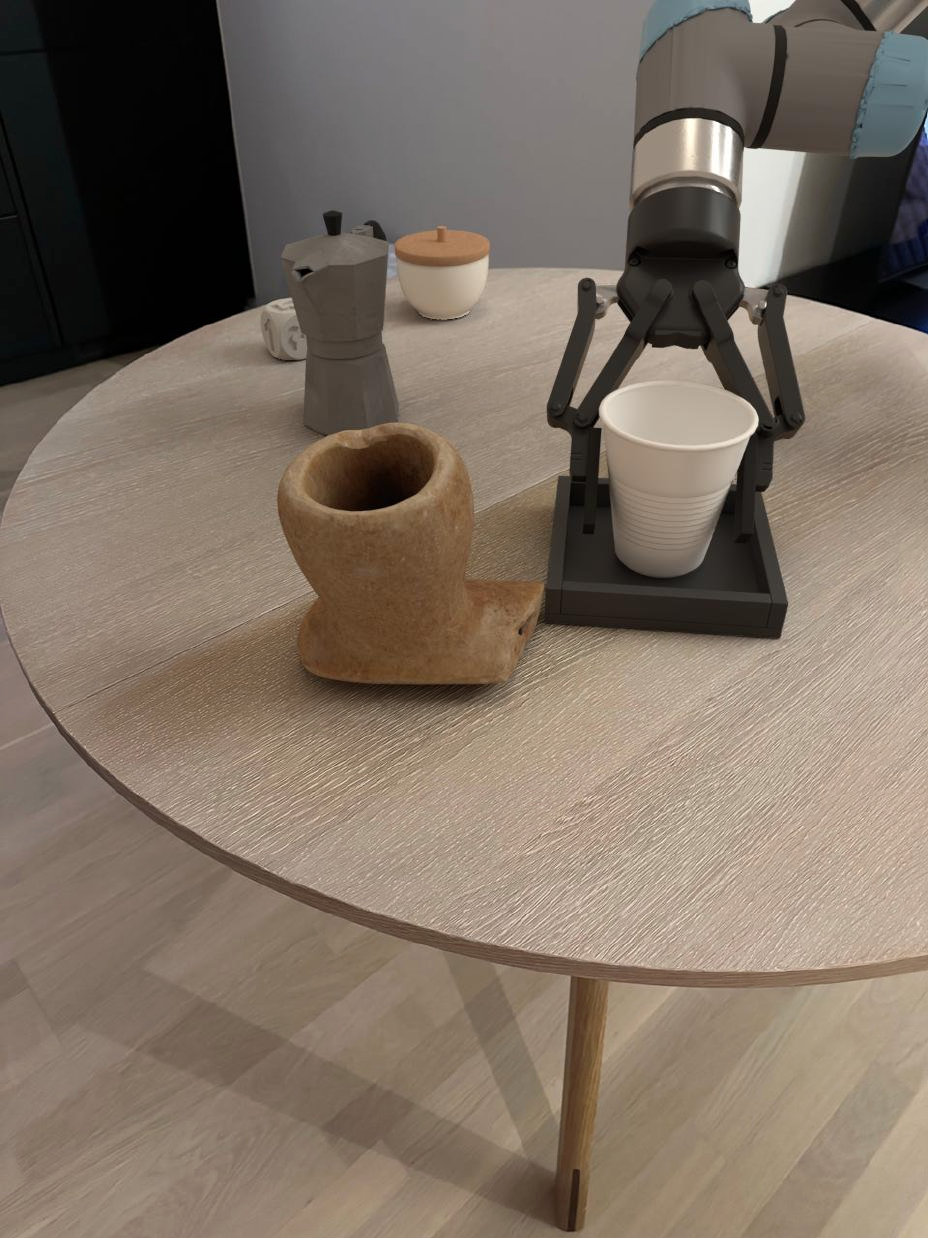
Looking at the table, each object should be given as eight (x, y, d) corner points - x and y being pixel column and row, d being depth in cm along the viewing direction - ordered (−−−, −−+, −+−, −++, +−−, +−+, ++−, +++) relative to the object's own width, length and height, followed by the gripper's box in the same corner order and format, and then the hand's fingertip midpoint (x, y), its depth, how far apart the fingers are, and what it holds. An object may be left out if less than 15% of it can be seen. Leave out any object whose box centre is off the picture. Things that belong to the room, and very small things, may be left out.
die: (264, 350, 100) (257, 303, 97) (306, 340, 102) (300, 294, 99) (283, 364, 96) (276, 317, 93) (326, 354, 99) (321, 307, 96)
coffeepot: (367, 455, 80) (347, 237, 69) (271, 439, 83) (238, 227, 72) (434, 386, 91) (427, 189, 80) (349, 374, 94) (330, 182, 83)
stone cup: (275, 715, 54) (231, 489, 45) (322, 596, 63) (294, 389, 54) (535, 733, 53) (544, 503, 43) (544, 608, 62) (553, 397, 53)
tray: (753, 517, 71) (760, 485, 69) (780, 639, 59) (788, 603, 57) (556, 506, 73) (558, 475, 71) (544, 623, 61) (545, 588, 59)
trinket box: (379, 316, 108) (373, 231, 102) (434, 290, 115) (431, 210, 109) (455, 334, 103) (453, 245, 97) (507, 306, 110) (508, 222, 104)
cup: (570, 580, 63) (580, 432, 56) (607, 509, 70) (620, 370, 64) (717, 610, 60) (746, 458, 53) (740, 533, 67) (768, 390, 61)
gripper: (834, 246, 66) (823, 556, 63) (525, 239, 68) (501, 537, 65) (868, 182, 58) (858, 530, 55) (521, 177, 61) (493, 509, 58)
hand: (665, 533), depth 60 cm, fingers closed on cup, 9 cm apart
